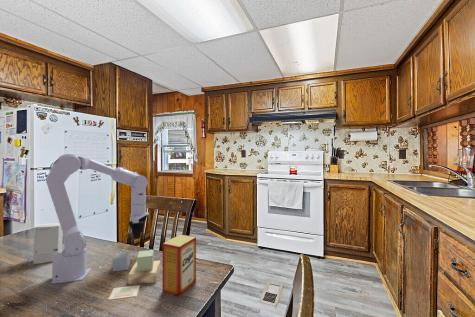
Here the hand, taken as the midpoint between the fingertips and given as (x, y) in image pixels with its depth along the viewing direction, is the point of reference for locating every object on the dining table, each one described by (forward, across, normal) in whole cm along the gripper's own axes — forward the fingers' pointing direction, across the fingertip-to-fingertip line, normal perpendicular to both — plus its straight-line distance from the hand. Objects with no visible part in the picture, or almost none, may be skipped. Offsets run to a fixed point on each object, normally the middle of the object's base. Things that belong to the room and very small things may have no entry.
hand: (138, 235), depth 98 cm
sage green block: (+6, -16, -5) cm, 18 cm away
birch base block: (+10, -16, -5) cm, 20 cm away
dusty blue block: (+10, -7, +5) cm, 13 cm away
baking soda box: (+10, -25, -17) cm, 32 cm away
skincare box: (+10, +7, +36) cm, 38 cm away
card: (+10, -25, 0) cm, 27 cm away
